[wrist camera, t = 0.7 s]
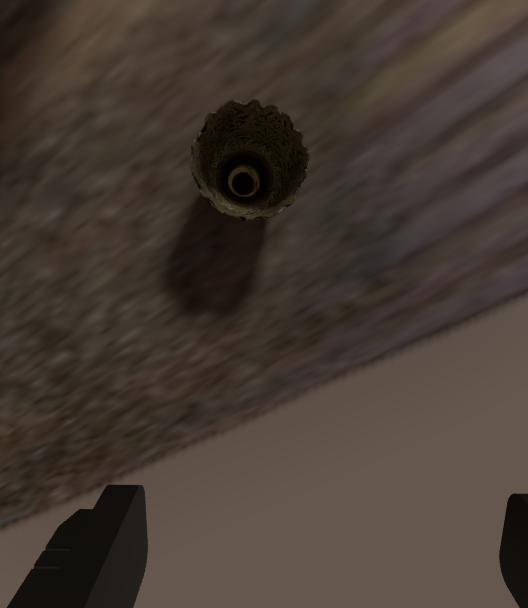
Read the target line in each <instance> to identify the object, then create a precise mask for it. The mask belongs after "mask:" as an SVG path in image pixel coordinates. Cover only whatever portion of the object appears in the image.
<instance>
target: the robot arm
mask: <svg viewBox="0 0 528 608" xmlns="http://www.w3.org/2000/svg"><path fill="white" fill-rule="evenodd" d="M147 551H148V539H147V522H146V505H145V491H144V488H143V486H142V485H107V486H106V487H105V489H104V491H103V492H102V494H101V496H100V498H99V499H98V501H97V503H96V505H95V507H94V508H93V509H79V510H78V511H77V512H75V513H74V514H73V515H72V516H71V517H70V518H68V519H67V520H66V521H65V522H63V523H62V524H61V525H60V526H59V527H58V528H57V530H56V531H55V533H54V535H53V536H52V538H51V540H50V541H49V542H48V544H47V546H46V549H45V551H43V552H42V554H41V555H40V557H39V558H38V560H37V561H36V563H35V564H34V569H31V571H30V572H29V574H28V575H27V577H26V579H25V580H24V582H23V583H22V585H21V586H20V588H19V589H18V591H17V593H16V594H15V596H14V597H13V599H12V601H11V602H10V604H9V605H8V607H7V608H133V606H134V603H135V600H136V597H137V594H138V591H139V588H140V585H141V582H142V579H143V576H144V572H145V567H146V562H147ZM499 560H500V567H501V572H502V575H503V578H504V581H505V583H506V585H507V587H508V589H509V591H510V592H511V594H512V596H513V597H514V599H515V601H516V602H517V604H518V606H519V607H520V608H528V494H512V495H511V496H510V497H509V499H508V502H507V508H506V515H505V521H504V527H503V533H502V540H501V546H500V553H499Z"/></svg>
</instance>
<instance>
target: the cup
mask: <svg viewBox="0 0 528 608" xmlns="http://www.w3.org/2000/svg"><path fill="white" fill-rule="evenodd" d="M302 139H303V133H302V131H300V130H299V129H296V130H293V123H292V122H291V119H290V117H289V115H288V114H286V113H284V114H283V113H281V111H280V110H279V108H278V107H277V106H276V105H268V106H265V107H264V108H262V107H261V106H260V102H259V100H258V99H253V100H251V101H250V102H249V103H248V104H246V103H242V102H240V101H237V100H230V101H228V102H226V103H225V104H223V105H222V106H221V107H220V108H219V109H218V110H217V111H216V112H215V111H212V112H210V113H209V114H208V115H207V116H206V117H205V126H204V127H203V129H202V130H201V131H200V132H199V135H198V138H197V140H193V142H192V145H191V154H192V156H191V162H190V166H191V172H192V175H193V178H194V180H195V182H196V184H197V186H198V188H199V190H200V193H201V195H202V196H203V197H204V198H205V199H206V200H207V201H208V202H209V203H210V204H211V205H212V206H213V207H214V208H215V209H216V210H218V211H219V212H220V213H222V214H225V215H227V216H229V217H232V218H235V219H240V220H246V221H254V220H260V219H266V218H270V217H273V216H275V215H277V214H279V213H280V212H282V211H283V210H285V209H286V208H287V207H288V206H290V205H291V204H292V203H293V202H294V201H295V200H296V198H297V197H295V196H296V194H297V193H298V191H299V190H300V188H301V184H302V182H303V181H304V179H305V178H306V177H307V174H308V170H307V165H308V162H309V159H310V154H309V150H308V149H307V148H306V147H305V146H304V145H303V143H302ZM241 173H245V174H248V175H250V176H251V178H252V179H253V183H254V185H253V188H252V190H251V191H250V192H249V193H247V194H240V193H238V192H237V191H236V190H235V189H234V187H233V180H234V178H235V177H236V176H237V175H238V174H241Z"/></svg>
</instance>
